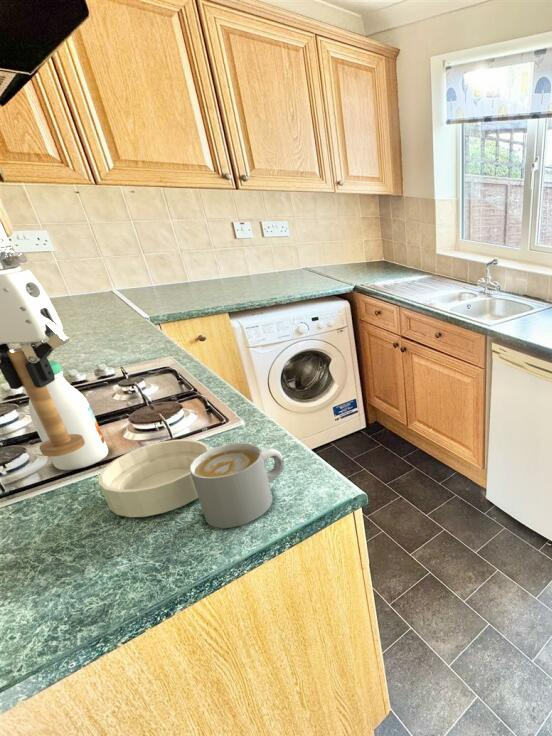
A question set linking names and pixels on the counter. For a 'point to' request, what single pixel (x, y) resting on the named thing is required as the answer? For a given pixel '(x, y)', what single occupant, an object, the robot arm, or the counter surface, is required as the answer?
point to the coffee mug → (234, 483)
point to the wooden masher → (45, 412)
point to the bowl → (151, 478)
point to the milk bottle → (72, 423)
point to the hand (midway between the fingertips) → (33, 383)
